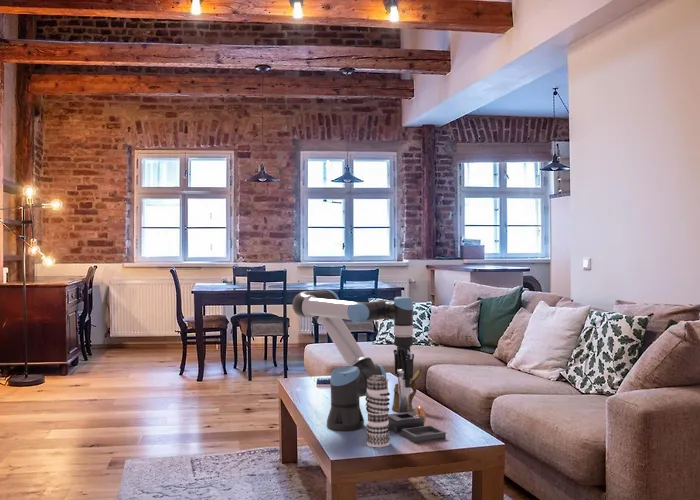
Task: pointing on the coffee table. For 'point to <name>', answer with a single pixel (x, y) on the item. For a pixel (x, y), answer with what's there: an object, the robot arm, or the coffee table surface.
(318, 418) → the coffee table surface
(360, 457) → the coffee table surface
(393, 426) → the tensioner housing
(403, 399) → the lock pin
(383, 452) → the coffee table surface
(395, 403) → the wooden mug
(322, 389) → the coffee table surface
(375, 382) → the decorative candle
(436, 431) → the tray
